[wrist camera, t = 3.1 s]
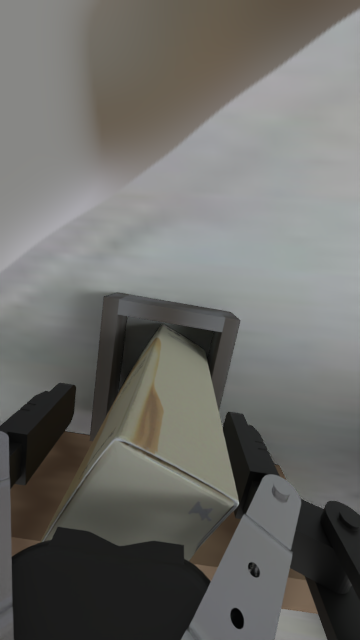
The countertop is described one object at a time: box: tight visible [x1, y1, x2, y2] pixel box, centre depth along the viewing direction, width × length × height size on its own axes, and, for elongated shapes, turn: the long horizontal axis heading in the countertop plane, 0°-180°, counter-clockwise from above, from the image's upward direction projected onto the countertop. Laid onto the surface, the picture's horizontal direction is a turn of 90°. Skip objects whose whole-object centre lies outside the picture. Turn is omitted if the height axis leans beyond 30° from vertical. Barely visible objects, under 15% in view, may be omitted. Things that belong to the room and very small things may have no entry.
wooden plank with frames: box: [10, 292, 318, 614], centre depth 17 cm, size 24×29×8 cm
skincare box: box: [40, 324, 239, 561], centre depth 13 cm, size 6×4×12 cm
